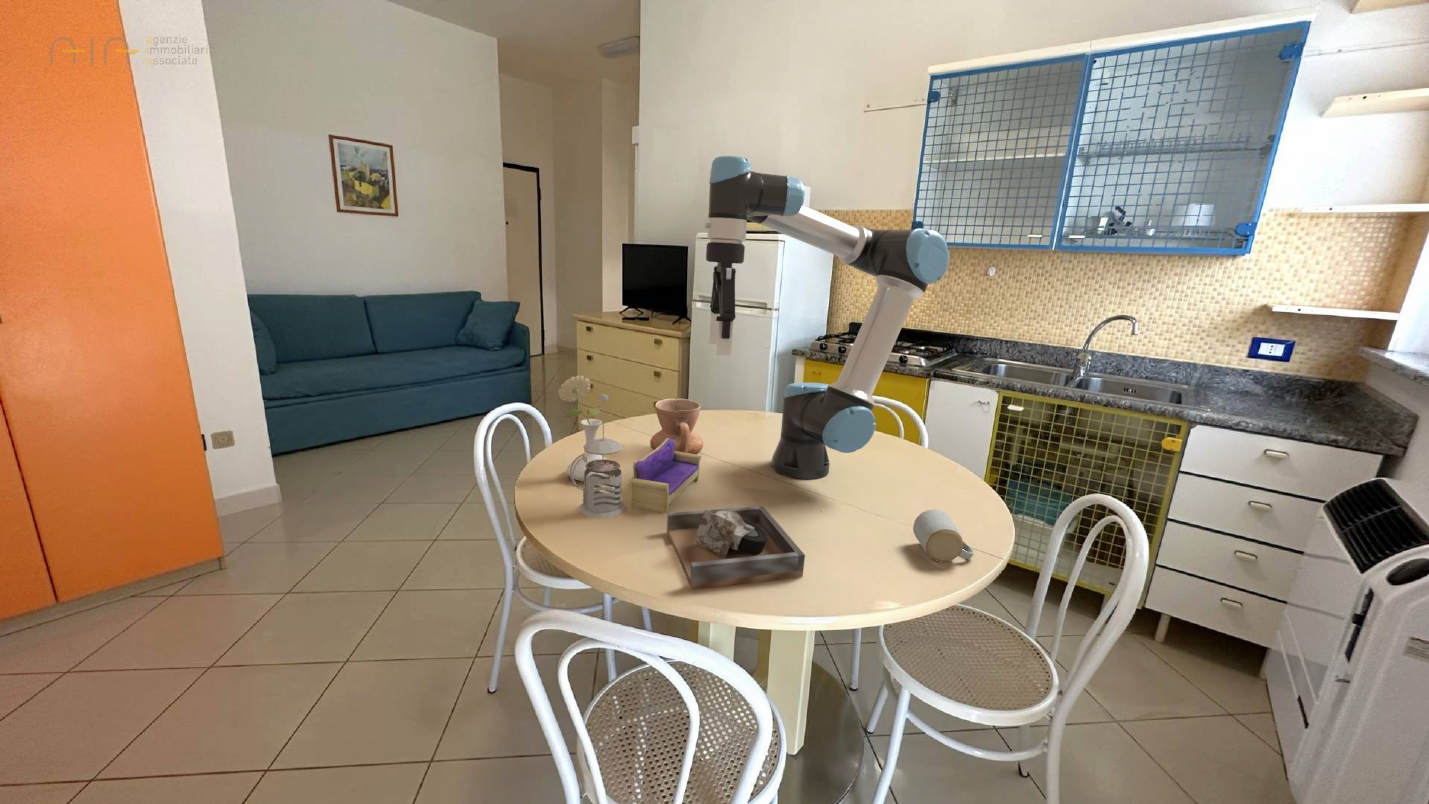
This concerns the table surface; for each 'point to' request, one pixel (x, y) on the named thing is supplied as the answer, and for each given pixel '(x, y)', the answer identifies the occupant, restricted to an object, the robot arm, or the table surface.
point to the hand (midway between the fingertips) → (719, 349)
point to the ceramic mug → (940, 536)
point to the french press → (593, 499)
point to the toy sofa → (662, 476)
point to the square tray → (734, 552)
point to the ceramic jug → (678, 425)
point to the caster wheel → (729, 533)
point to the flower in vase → (571, 392)
